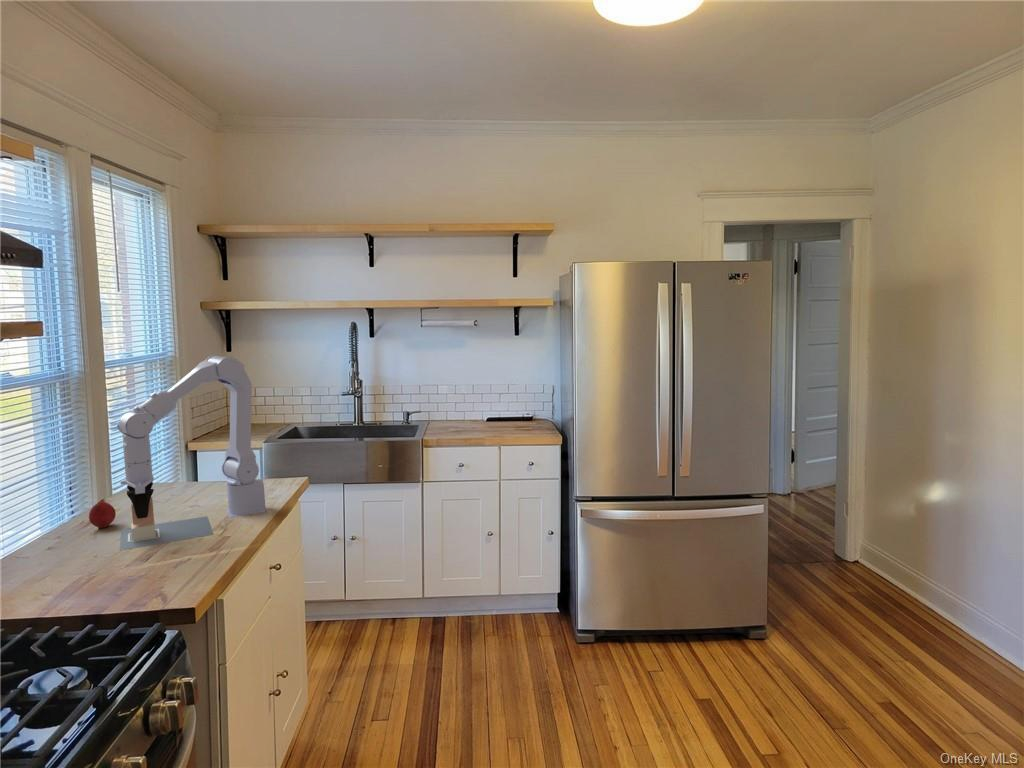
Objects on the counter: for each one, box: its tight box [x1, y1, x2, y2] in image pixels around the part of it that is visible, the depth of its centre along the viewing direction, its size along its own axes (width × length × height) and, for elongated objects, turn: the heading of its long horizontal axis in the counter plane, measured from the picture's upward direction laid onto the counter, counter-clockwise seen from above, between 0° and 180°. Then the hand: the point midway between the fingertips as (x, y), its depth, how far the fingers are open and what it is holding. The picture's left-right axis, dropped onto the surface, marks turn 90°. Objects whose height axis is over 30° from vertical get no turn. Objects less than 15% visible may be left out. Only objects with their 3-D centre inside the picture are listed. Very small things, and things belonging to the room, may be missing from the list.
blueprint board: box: [119, 516, 214, 551], centre depth 162 cm, size 20×16×4 cm
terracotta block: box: [130, 496, 155, 525], centre depth 159 cm, size 4×4×5 cm
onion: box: [88, 498, 116, 529], centre depth 166 cm, size 6×6×8 cm
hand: (142, 514), depth 159 cm, fingers closed on terracotta block, 4 cm apart
